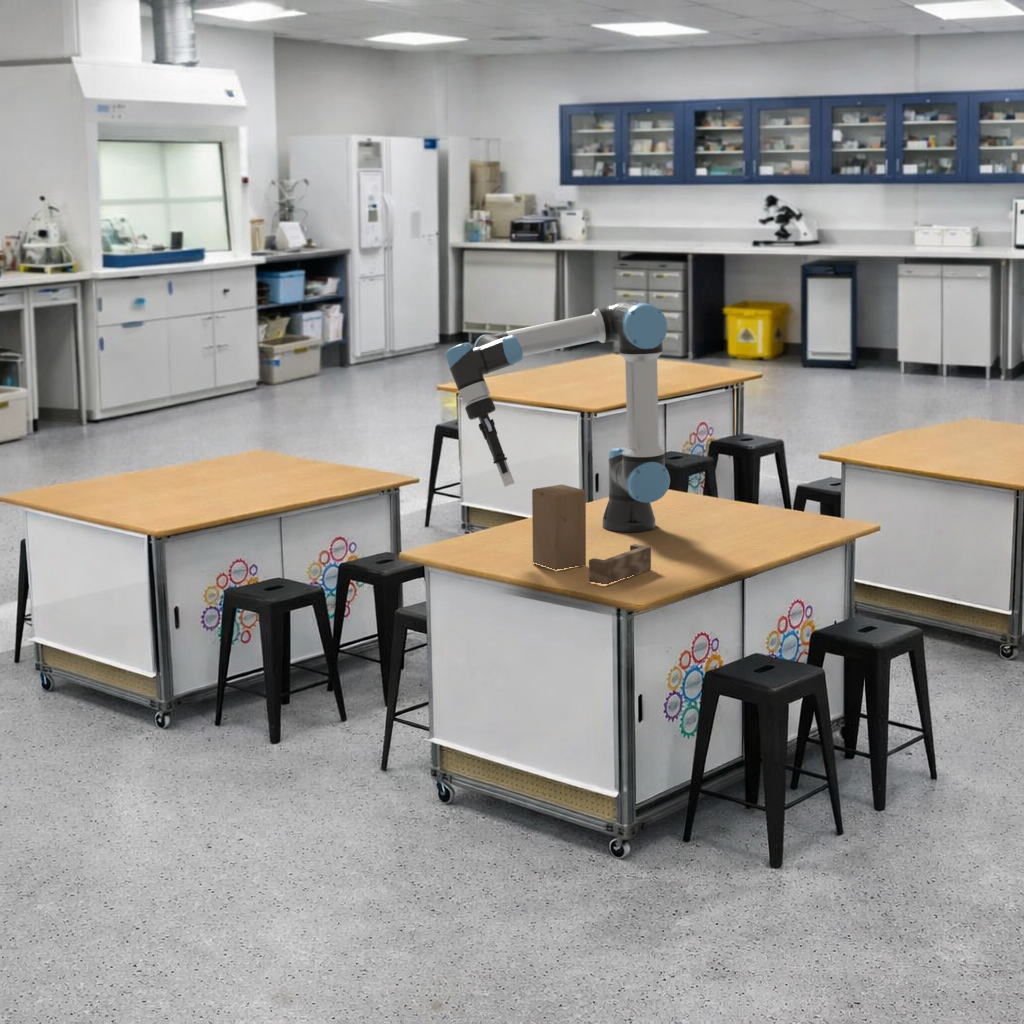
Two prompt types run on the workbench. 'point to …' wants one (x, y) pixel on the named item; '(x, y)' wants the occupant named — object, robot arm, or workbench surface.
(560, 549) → the wooden block
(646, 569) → the stop rail
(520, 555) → the workbench surface
